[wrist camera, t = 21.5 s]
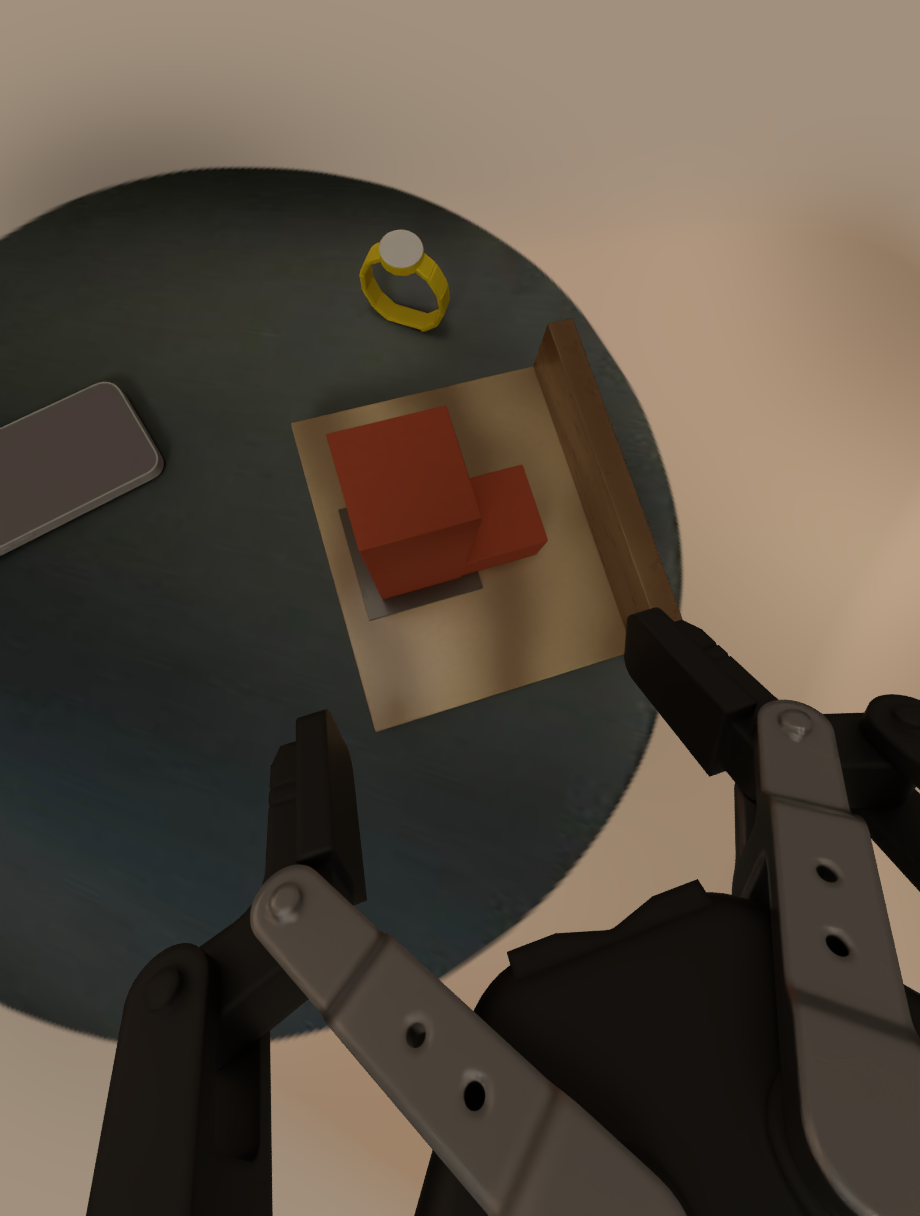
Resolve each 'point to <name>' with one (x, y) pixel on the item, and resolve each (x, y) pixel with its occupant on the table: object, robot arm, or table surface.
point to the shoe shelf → (511, 592)
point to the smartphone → (70, 461)
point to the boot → (429, 504)
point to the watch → (404, 258)
